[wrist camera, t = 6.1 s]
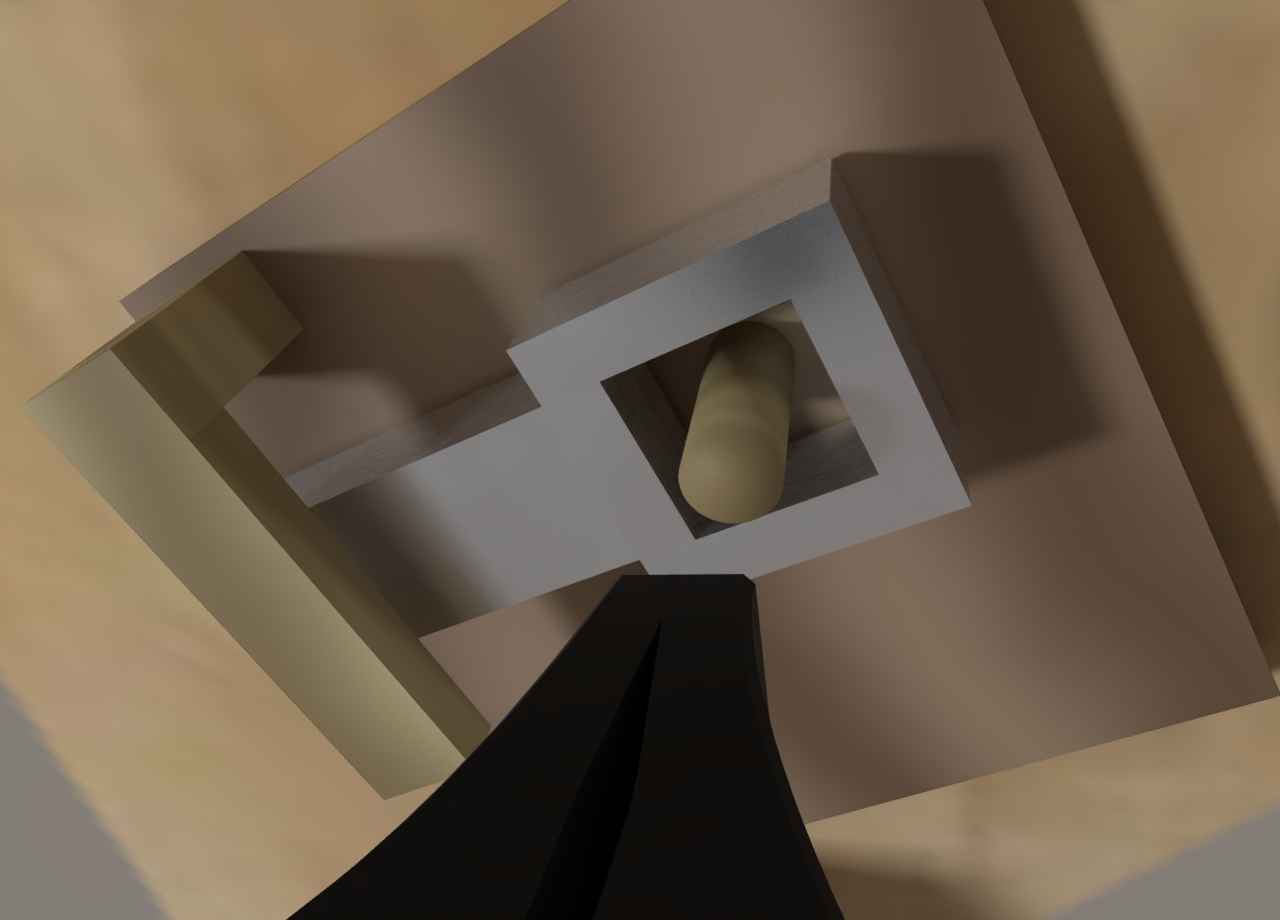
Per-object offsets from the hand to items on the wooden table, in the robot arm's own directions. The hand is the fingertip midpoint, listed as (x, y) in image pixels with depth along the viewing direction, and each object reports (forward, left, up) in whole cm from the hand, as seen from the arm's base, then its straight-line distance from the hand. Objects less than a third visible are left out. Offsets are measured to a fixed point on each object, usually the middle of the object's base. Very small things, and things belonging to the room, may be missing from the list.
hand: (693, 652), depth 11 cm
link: (+3, 0, -7) cm, 8 cm away
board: (+2, +2, -9) cm, 9 cm away
